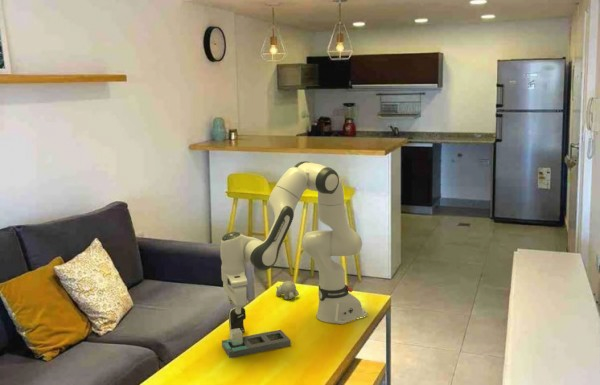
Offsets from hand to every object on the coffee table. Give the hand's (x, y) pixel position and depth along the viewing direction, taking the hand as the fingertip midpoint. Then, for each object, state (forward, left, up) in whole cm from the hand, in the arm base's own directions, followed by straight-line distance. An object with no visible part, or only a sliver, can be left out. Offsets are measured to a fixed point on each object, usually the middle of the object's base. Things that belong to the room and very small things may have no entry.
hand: (234, 308), depth 231 cm
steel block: (0, 0, -17) cm, 17 cm away
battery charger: (-5, -13, -17) cm, 22 cm away
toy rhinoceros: (-38, -44, -17) cm, 60 cm away
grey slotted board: (-8, 0, -17) cm, 19 cm away
